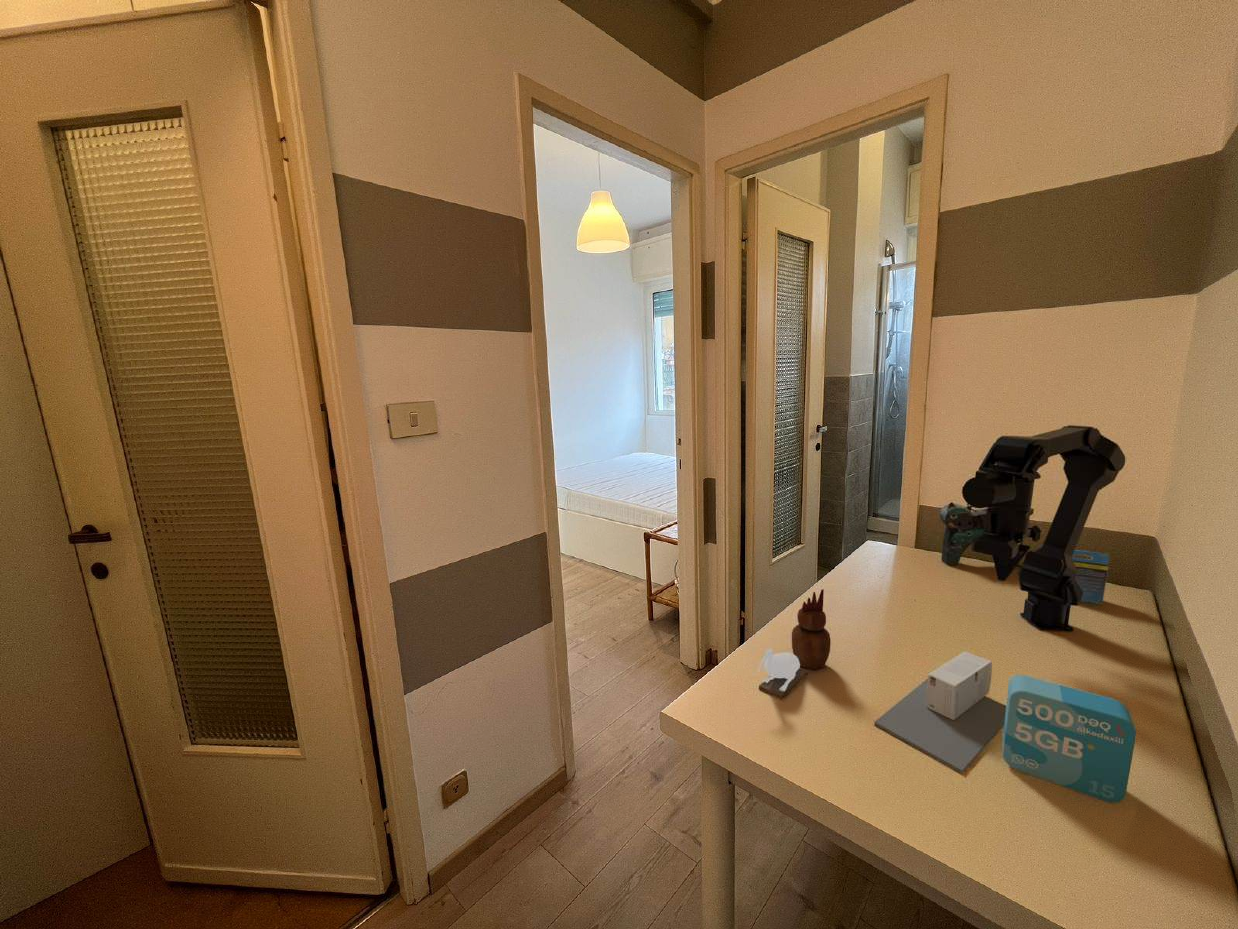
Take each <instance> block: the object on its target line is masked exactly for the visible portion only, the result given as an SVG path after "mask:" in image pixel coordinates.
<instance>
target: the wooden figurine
mask: <svg viewBox="0 0 1238 929" xmlns="http://www.w3.org/2000/svg"><path fill="white" fill-rule="evenodd" d="M824 591H825V590H824V588H821V590H820V593H819V596H818V598H817V595H816V592H815V591H813V592H812V598H810V597H807V601H806V602H805V601H803V603H802V606H801V608H800V609H798V611H797V614H796V615H797V623H798V624H796V626H794V627H793V629H792V630H791V649H792V654H794V655H795V656H796V657H797V658H798V659H799V663H800V666H801V667H803V668H806V669H811V670H812V669H813V670H817V669H820V668H823V667H824V666H825V665H826V663H827V661H828V659H829V657H830V651H831V645H832V644H831V642H832V641H831V635H830V632H829V631H828V629H826V628H825V627H826V625H827V624H826V623H827V616H826V613H825V612H824V593H825V592H824Z"/></svg>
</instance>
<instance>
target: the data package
mask: <svg viewBox="0 0 1238 929" xmlns="http://www.w3.org/2000/svg"><path fill="white" fill-rule="evenodd" d="M1005 705H1006V713H1005V721H1004V726H1003V728H1002V729H1003V732H1002V757H1003V760H1004V761H1005V763H1006V764H1007V765H1008V766H1009V767H1011V768H1012V769H1014V770H1015V771H1019V772H1021V773H1025V774H1026V775H1030V776H1032V777H1035V778H1038V779H1041V780H1044V781H1047V782H1050V783H1053V784H1056V785H1058V786H1061V787H1064V788H1067V789H1069V790H1072V791H1076V792H1078V793H1081V794H1083V795H1085V796H1090V797H1091V798H1095V799H1097V800H1100V801H1103V802H1107V803H1111V804H1112V803H1113V804H1117V803H1120V802H1123V801H1124V800H1125V798H1126V795H1127V789H1128V783H1129V778H1130V773H1131V768H1132V767H1131V766H1132V760H1133V756H1134V749H1135V746H1136V745H1135V744H1136V738H1137V730H1136V726H1135V724H1134V721H1133V719H1132V716H1131V713H1130V710H1129V708H1128V707H1127V706H1126V705H1125V704H1124V703H1123V702H1121V701H1119V700H1117V699H1114V698H1113V697H1111V698H1110V697H1108V696H1104V695H1100V694H1095V693H1092V692H1089V691H1085V690H1081V689H1077V688H1073V687H1069V686H1066V685H1062V684H1059V683H1058V684H1057V683H1054V682H1052V681H1047V680H1045V679H1044V680H1043V679H1039V678H1035V677H1032V676H1027V675H1023V674H1018V675H1014V676H1012V677H1011V678H1010V679H1009V682H1008V689H1007V698H1006V704H1005Z"/></svg>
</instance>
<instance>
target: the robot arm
mask: <svg viewBox="0 0 1238 929" xmlns="http://www.w3.org/2000/svg"><path fill="white" fill-rule="evenodd" d="M1057 455H1059V456H1060V457H1061V458H1062V460H1063V462H1064V464H1063V470H1062V471H1063V472H1064V475H1065V478H1066V480H1067V484H1066V487H1065V490H1064V492H1063V494H1062V497H1061V499H1060V501H1059V504H1058V507H1057V509H1056V511H1055V514H1054V517H1053V518H1052V521H1051V524H1050V526H1049V529H1048V531H1047V533H1046V536H1045V538H1044V541H1043V543H1042V545H1041V547H1039V548H1038V549H1036V550H1034V551H1033V550H1030V549H1031V546H1029V545H1026V544H1023V543H1022V544H1021V542H1022V541H1019V540H1023V541H1024V540H1025V539H1026V538H1031V541H1032V542H1038V541H1039V540H1040V539H1041V534H1042V530H1041V528H1040V527H1039V526H1037V524H1033V523H1030V517H1031V516H1033V515H1034V511H1035V509H1034V508H1032V502H1033V494H1034V487H1035V480H1039V479H1041V474H1040V473H1039V472H1038V470H1039V469H1040V468H1041V467H1043V466H1045V465H1046V464H1048V463H1049V458H1050V457H1054V456H1057ZM1125 464H1126V455H1125V453H1124V452H1123V450H1122V449H1121V447H1120V446H1119V444H1117V443H1116V442H1115V441H1113V440H1111V439H1110V438H1108V437H1106V436H1104V435H1102V433H1101V432H1100V430H1099V429H1098V428H1097V427H1096V428H1095V427H1093V426H1089V425H1088V426H1086V425H1074V424H1073V425H1071V424H1069V425H1065V426H1062V428H1058V429H1054V430H1050V431H1046V432H1043V433H1038V434H1034V435H1031V436H1029V435H1028V436H1027V435H1024V436H1023V435H1001V436H999V437H998V438H997V439H996V441H995V442H994V443H992V445H991V447H990V449H989V451H988V452H987V453H986V455H985V457H984V458H983V460H982V462H981V464H980V465H979V467H978V470H976V471H975V473H974V474H975V475H974V477H972V478H969V479H967V481H965V483H964V485H963V486H962V488H961V494H962V497H963V499H964V501H965V502H966V504H967V503H968V504H969V506H972V508H973V509H974V508H975V509H986V508H987V511H981V512H973V513H970V512H969V511H968V512H965V513H963V512H960V513H958V515H957V516H956V517H955V518H954V519H955V522H954V526H957V527H958V530H959V532H966V531H972V530H982V529H983V533H988V534H983V535H981V536H979V537H977V538H976V539H974V540H972V544H971V545H970V546H971V547H970V550H971V551H972V552H975V553H981V554H984V555H987V556H992V559H993V564H994V568H995V573H996V577H997V580H998V581H1001V582H1005V581H1006V580H1008V578H1009V576H1010V575H1011V574H1012V573H1013V571H1014V570H1015V569H1016V568H1017V566H1018V565H1019V563H1020V562H1021V561H1022V559H1023V558H1024V559H1023V562H1022V564H1021V565H1020V567H1019V569H1018V573H1017V574H1018V581H1019V589H1020V590H1021V591H1022V592H1026V593H1027V598H1025V600H1024V606H1023V611H1022V612H1020V614H1019V616H1021V617H1022V618H1023V619H1025V621H1026V622H1028V623H1030V624H1031V625H1032V626H1034V627H1035V628H1036V629H1039V630H1040V631H1041V630H1042V631H1065V632H1066V631H1067V632H1069V631H1070V632H1074V627H1073V626H1071V625H1070V624H1069V621H1070V613H1071V607H1072V606H1073V607H1074V606H1075V607H1077V606H1079V604H1080V603H1081V602H1082V601H1081V599H1082V595H1083V591H1082V589H1081V588H1080V586H1079V585H1078V583H1077V582H1076V580H1075V578H1076V575H1077V569H1076V567H1075V564H1074V561H1073V558H1072V555H1073V553H1074V550H1076V548H1077V545H1078V543H1079V540H1080V538H1081V535H1082V533H1083V530H1084V528H1085V525H1086V523H1087V521H1088V518H1089V516H1090V512H1091V510H1092V507H1093V505H1094V503H1095V500H1096V498H1097V496H1098V493H1099V492H1100V491H1101V490H1102V489H1103V488H1106V487H1107V486H1108V485H1110V484H1111V483H1113V482H1115V481H1116V478H1117V476H1118V474H1119V473H1120V471H1122V470H1123V469H1124V467H1125ZM990 534H994V535H990Z"/></svg>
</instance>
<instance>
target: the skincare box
mask: <svg viewBox="0 0 1238 929" xmlns="http://www.w3.org/2000/svg"><path fill="white" fill-rule="evenodd" d="M992 670H993V663H992V661H990V660H989V659H986V658H983V657H981V656H978V655H976V654H973V653H971V652H968V651H962V652H961V653H959V654H957V655H956V656H955V657H953V658H951V659H950V660H949V661H947V662H945V663H944V664H942V665H941V666H939V667H938V668H936V669H934V670H932V671H931V672H929V673H928V675H927V679H928V686H927V689H926V694H927V702H926V707H927V708H929V709H931V710H933V711H935V712H937V713H939V714H941V715H943V716H945V717H948V718H950V719H952V720H955V719H956V718H957V717H958V716H960V715H961V714H962V713H964V712H965V711H966V710H967V709H969V708H970V707H971V706H973V705H974V704H975V703H976V702H978V701H979V700H980V699H982V698H983V697H984V696H985V697H987V695H988V694H989V693H990V689H991V684H992V683H991V682H992V675H993V673H992V672H993V671H992Z"/></svg>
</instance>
